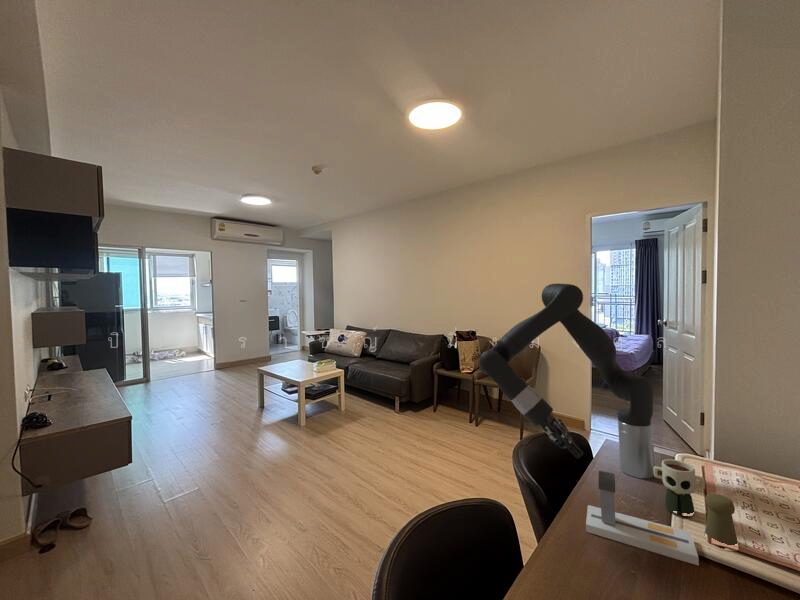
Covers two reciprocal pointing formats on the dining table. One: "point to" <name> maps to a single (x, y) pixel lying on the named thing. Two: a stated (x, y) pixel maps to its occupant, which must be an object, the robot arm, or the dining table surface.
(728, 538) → the cork
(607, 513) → the fader knob
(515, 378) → the robot arm
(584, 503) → the dining table surface
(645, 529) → the fader console
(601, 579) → the dining table surface
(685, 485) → the character mug
